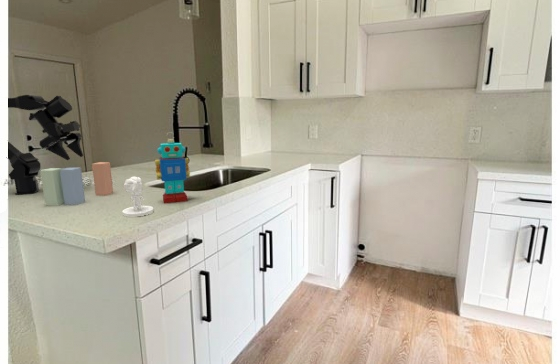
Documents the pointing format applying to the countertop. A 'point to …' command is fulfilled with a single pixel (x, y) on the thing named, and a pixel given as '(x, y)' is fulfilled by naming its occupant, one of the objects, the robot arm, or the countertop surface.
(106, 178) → the terracotta post
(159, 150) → the toy robot
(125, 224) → the countertop surface
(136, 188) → the figurine
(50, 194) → the sage post
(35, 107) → the robot arm
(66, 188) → the slate post
